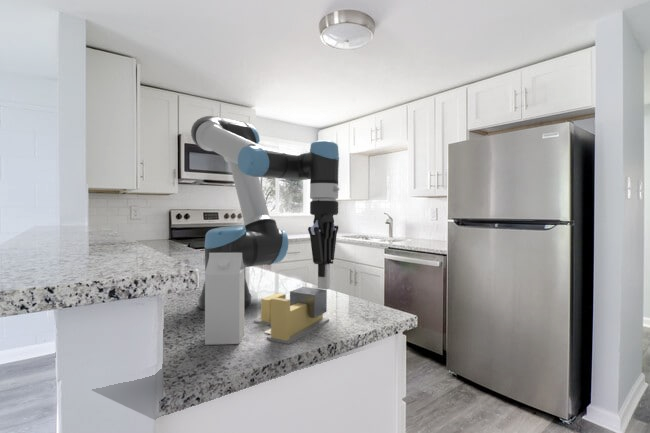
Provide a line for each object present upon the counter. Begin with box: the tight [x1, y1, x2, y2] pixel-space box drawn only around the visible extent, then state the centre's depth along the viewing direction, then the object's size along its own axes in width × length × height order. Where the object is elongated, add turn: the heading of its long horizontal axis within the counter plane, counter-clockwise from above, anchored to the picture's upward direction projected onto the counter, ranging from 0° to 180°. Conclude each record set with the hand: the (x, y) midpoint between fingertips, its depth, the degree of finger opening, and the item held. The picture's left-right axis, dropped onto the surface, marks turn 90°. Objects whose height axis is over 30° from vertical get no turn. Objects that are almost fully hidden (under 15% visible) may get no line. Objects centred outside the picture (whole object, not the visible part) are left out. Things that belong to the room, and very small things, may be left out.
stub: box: [252, 292, 287, 327], centre depth 89 cm, size 6×9×6 cm, turn 151°
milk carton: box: [204, 253, 245, 346], centre depth 75 cm, size 7×7×19 cm
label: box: [263, 328, 271, 335], centre depth 81 cm, size 3×6×1 cm, turn 151°
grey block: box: [289, 286, 328, 318], centre depth 85 cm, size 7×6×6 cm
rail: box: [266, 297, 330, 345], centre depth 82 cm, size 6×18×9 cm, turn 151°
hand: (323, 288), depth 92 cm, fingers closed
